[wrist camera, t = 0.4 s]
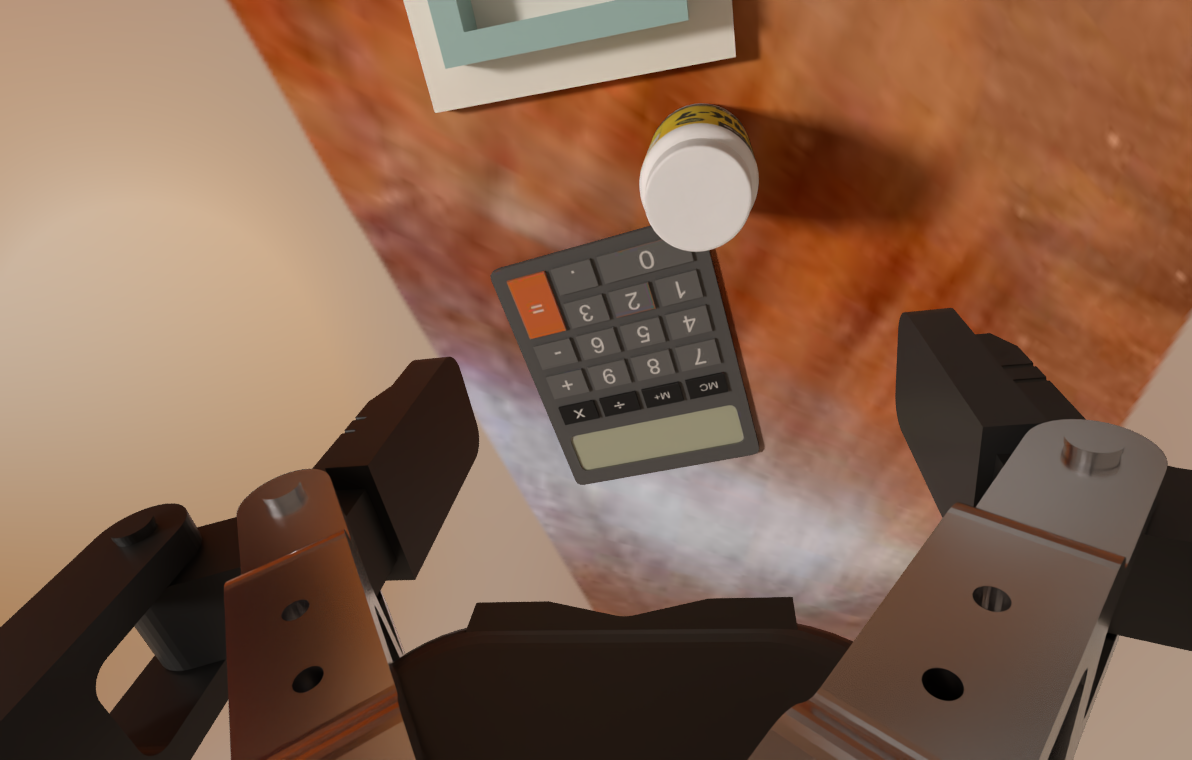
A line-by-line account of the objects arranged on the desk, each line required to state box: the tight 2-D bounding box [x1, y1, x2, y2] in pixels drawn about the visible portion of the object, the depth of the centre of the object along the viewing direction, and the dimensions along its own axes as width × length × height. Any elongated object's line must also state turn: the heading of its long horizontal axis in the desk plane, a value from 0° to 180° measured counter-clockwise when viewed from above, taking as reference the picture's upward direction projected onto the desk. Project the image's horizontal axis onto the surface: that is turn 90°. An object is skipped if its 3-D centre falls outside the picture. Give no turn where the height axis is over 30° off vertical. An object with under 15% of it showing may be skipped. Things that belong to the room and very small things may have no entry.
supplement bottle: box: [639, 104, 759, 252], centre depth 28 cm, size 5×5×8 cm
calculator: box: [491, 226, 759, 485], centre depth 38 cm, size 12×1×15 cm
